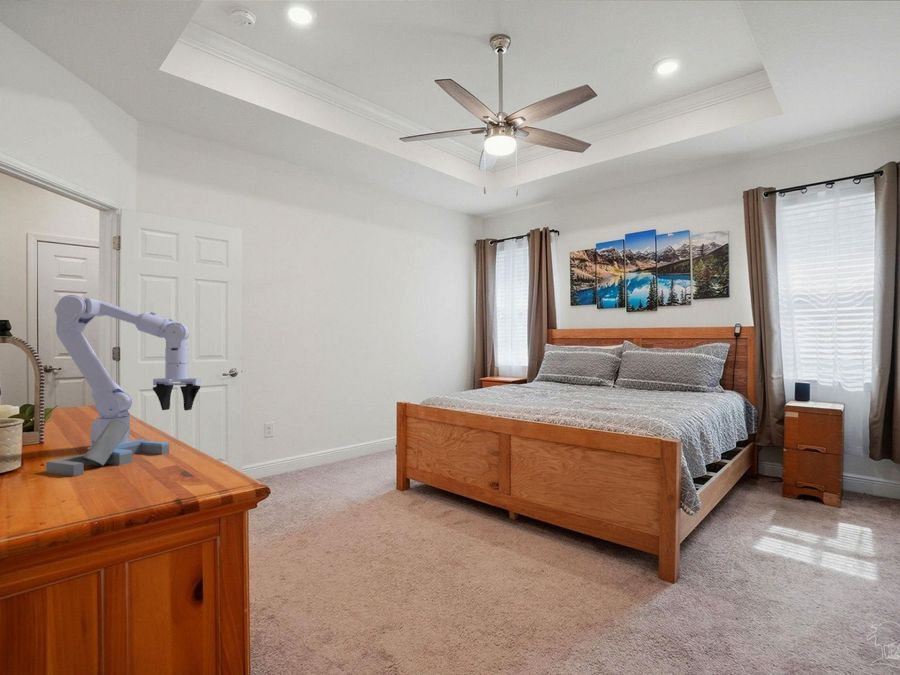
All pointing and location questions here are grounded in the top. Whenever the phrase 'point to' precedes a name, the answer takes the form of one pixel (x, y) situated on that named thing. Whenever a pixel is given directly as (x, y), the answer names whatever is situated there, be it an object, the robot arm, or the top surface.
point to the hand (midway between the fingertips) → (176, 409)
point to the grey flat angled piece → (76, 463)
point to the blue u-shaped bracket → (133, 443)
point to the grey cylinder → (106, 443)
